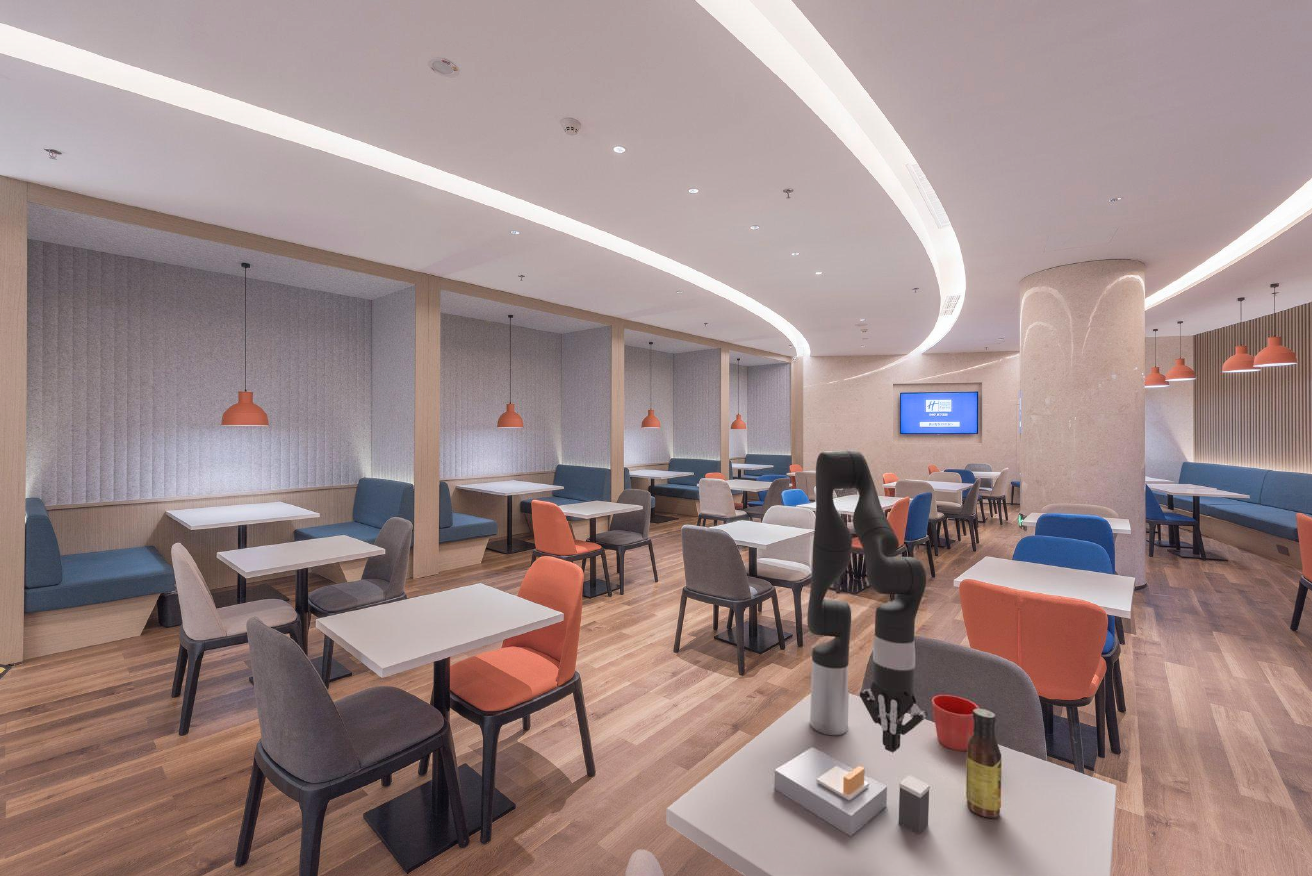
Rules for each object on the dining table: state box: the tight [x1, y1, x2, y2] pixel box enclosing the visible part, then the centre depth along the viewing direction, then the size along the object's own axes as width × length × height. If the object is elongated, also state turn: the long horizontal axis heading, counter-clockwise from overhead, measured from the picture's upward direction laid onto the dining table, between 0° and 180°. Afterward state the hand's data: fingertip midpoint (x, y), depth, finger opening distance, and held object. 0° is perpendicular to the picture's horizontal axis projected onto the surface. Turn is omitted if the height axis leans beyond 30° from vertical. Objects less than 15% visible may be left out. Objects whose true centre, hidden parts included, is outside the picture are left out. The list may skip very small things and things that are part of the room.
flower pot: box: [931, 694, 980, 752], centre depth 138 cm, size 11×11×10 cm
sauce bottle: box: [965, 708, 1003, 819], centre depth 113 cm, size 7×6×20 cm
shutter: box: [817, 765, 869, 801], centre depth 114 cm, size 8×8×4 cm
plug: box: [898, 774, 931, 835], centre depth 108 cm, size 4×4×8 cm
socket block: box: [773, 747, 888, 837], centre depth 116 cm, size 14×18×4 cm
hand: (890, 749), depth 106 cm, fingers closed
